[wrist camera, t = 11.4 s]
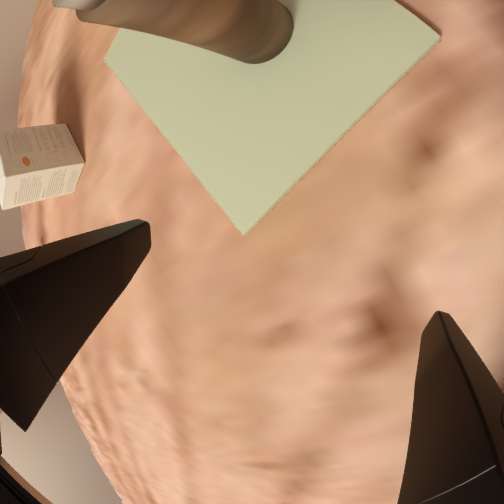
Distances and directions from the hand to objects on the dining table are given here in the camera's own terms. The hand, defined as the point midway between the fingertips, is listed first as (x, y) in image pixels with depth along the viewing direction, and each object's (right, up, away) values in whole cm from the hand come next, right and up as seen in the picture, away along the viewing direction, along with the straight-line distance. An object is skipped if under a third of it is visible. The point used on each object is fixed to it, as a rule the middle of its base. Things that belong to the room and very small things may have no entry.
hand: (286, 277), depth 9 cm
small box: (-24, +13, +25) cm, 37 cm away
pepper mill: (-1, +15, +8) cm, 17 cm away
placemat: (-3, +16, +10) cm, 19 cm away
